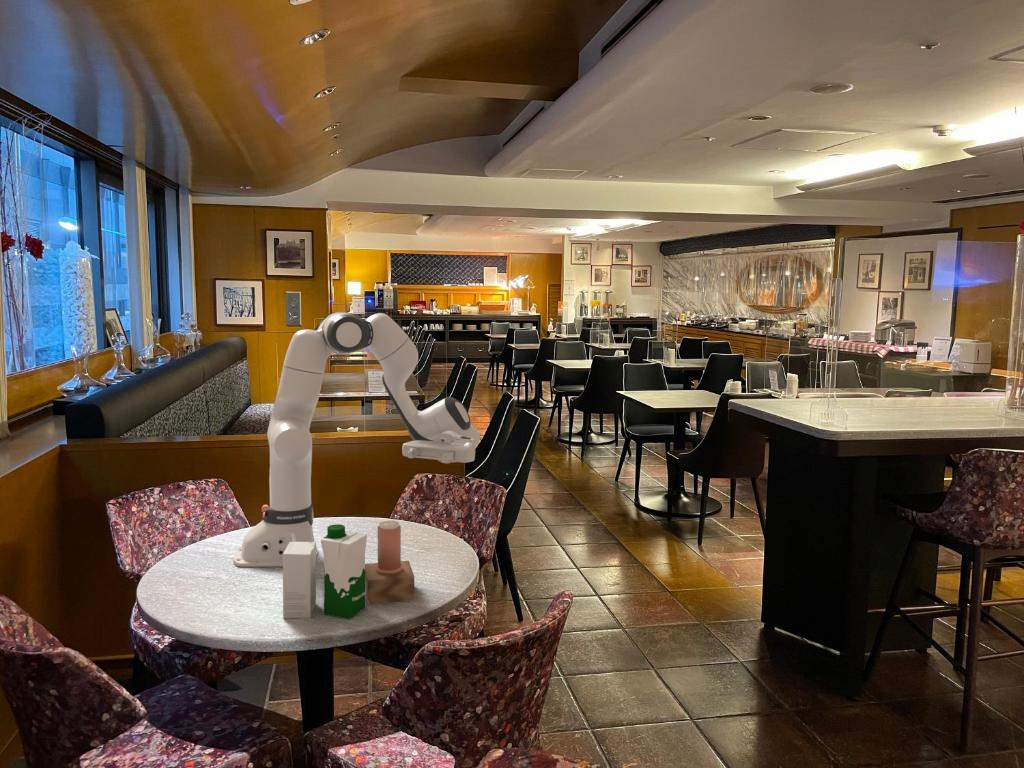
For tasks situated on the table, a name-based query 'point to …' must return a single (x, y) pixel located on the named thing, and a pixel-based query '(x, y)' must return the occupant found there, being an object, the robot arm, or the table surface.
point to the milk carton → (344, 572)
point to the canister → (389, 548)
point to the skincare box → (299, 580)
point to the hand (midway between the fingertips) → (425, 456)
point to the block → (389, 585)
